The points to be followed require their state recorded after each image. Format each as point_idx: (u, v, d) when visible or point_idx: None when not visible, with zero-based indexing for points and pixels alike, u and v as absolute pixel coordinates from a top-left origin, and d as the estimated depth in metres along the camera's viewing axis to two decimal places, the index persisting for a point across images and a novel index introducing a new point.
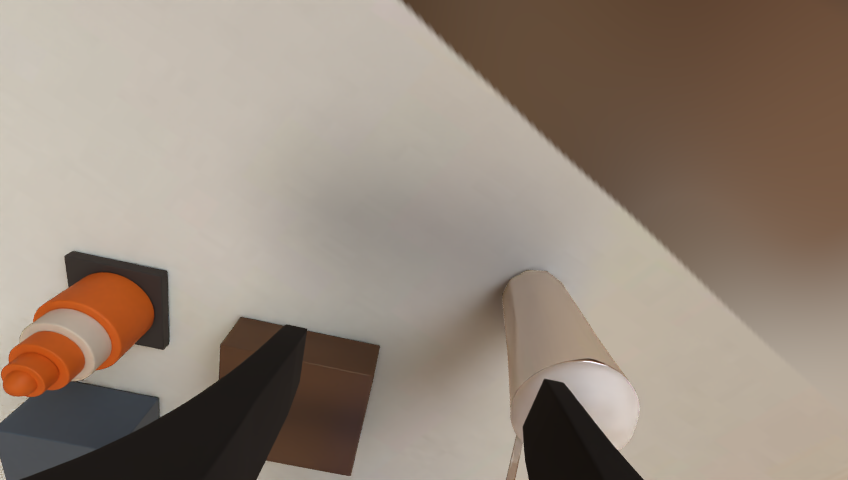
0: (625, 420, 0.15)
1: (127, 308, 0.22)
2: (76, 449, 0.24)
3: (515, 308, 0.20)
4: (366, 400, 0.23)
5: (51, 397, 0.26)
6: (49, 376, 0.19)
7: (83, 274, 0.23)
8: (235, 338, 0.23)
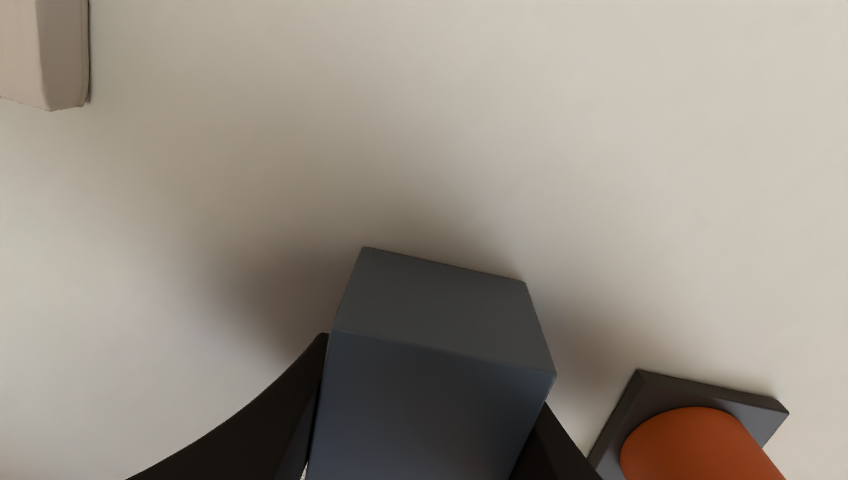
0: None
1: None
2: None
3: None
4: None
5: None
6: None
7: (749, 427, 0.14)
8: None
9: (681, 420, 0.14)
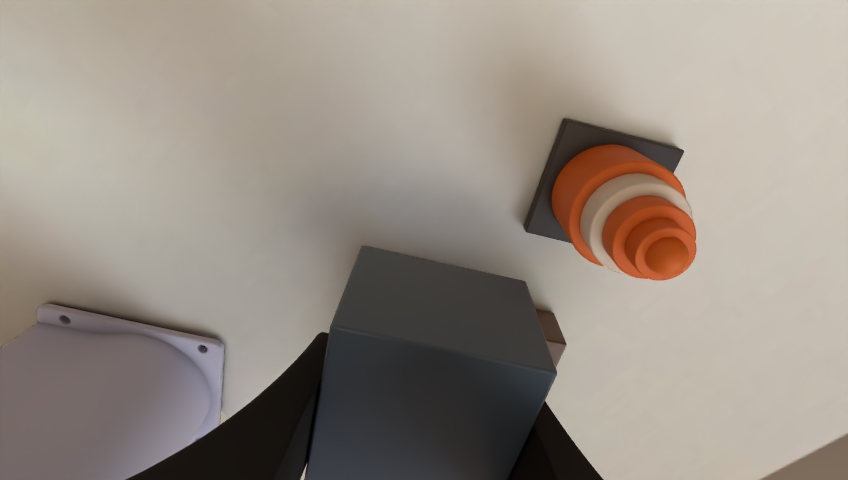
0: None
1: None
2: None
3: None
4: None
5: None
6: None
7: None
8: None
9: (595, 149, 0.17)
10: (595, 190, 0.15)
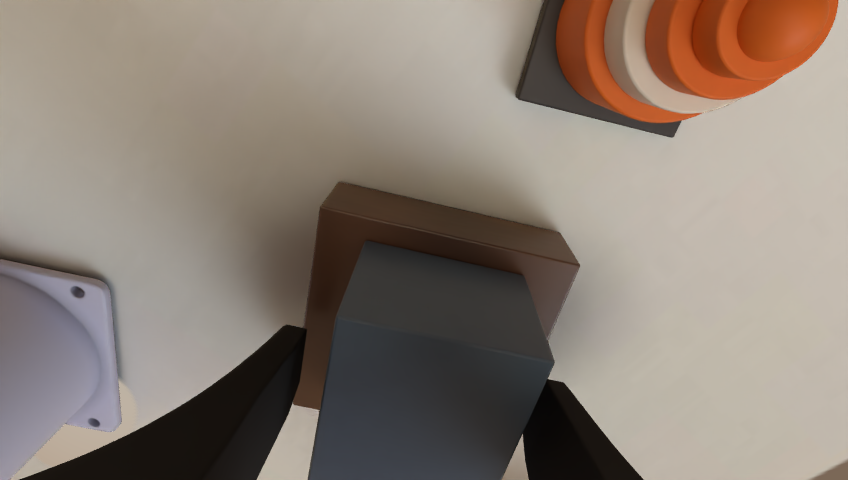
0: None
1: None
2: None
3: None
4: None
5: None
6: None
7: None
8: None
9: None
10: None
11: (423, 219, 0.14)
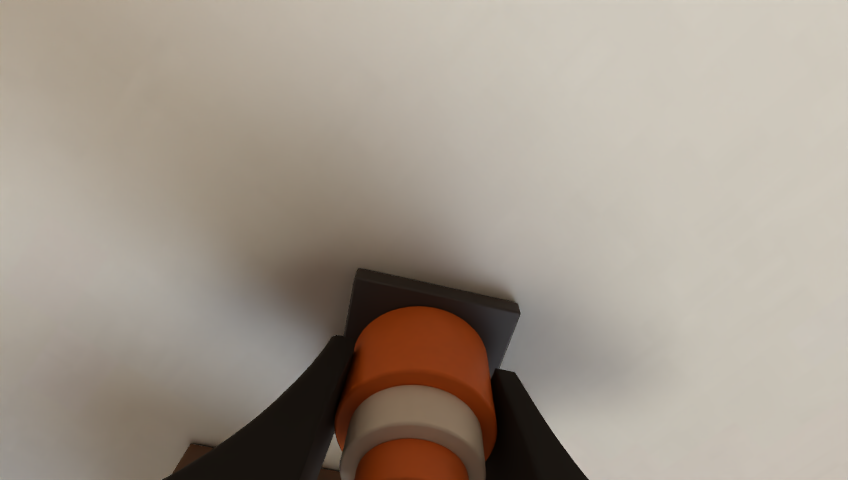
0: None
1: None
2: None
3: None
4: None
5: None
6: None
7: (482, 331, 0.13)
8: None
9: (393, 318, 0.12)
10: (360, 405, 0.11)
11: None
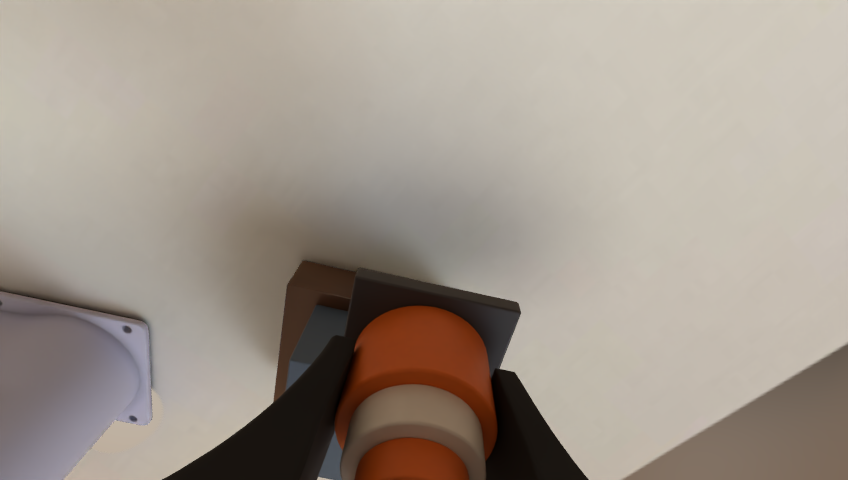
0: None
1: None
2: None
3: None
4: None
5: None
6: None
7: (483, 331, 0.13)
8: None
9: (393, 317, 0.12)
10: (360, 405, 0.11)
11: None
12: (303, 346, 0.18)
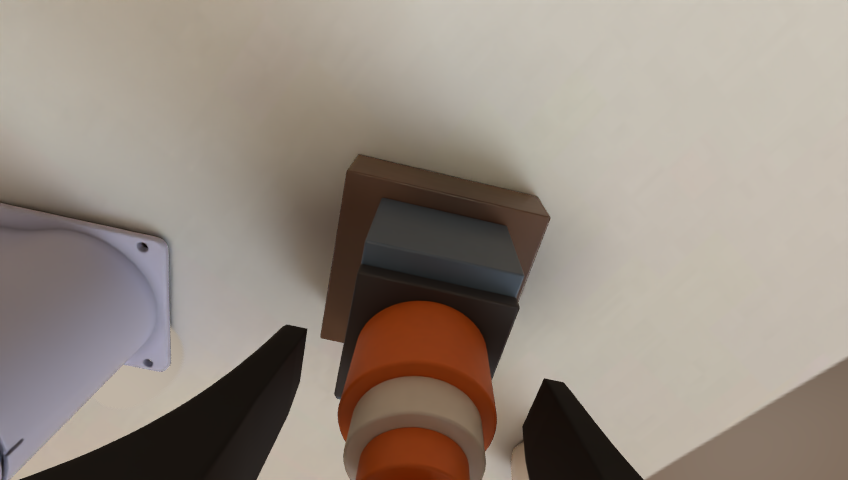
0: None
1: None
2: None
3: None
4: None
5: None
6: None
7: (482, 325, 0.13)
8: None
9: (394, 312, 0.13)
10: (363, 396, 0.11)
11: (427, 182, 0.17)
12: (379, 230, 0.14)
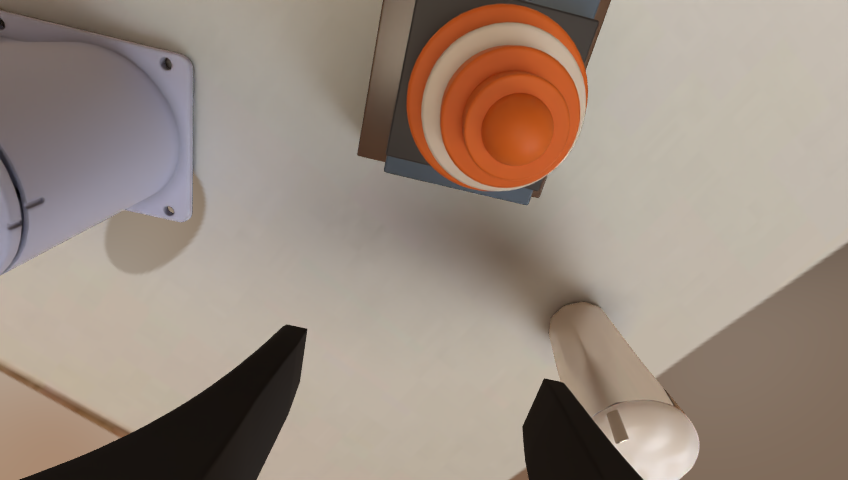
0: None
1: None
2: None
3: None
4: None
5: None
6: None
7: None
8: None
9: None
10: (439, 56, 0.10)
11: None
12: None
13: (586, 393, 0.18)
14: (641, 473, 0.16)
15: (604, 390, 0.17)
